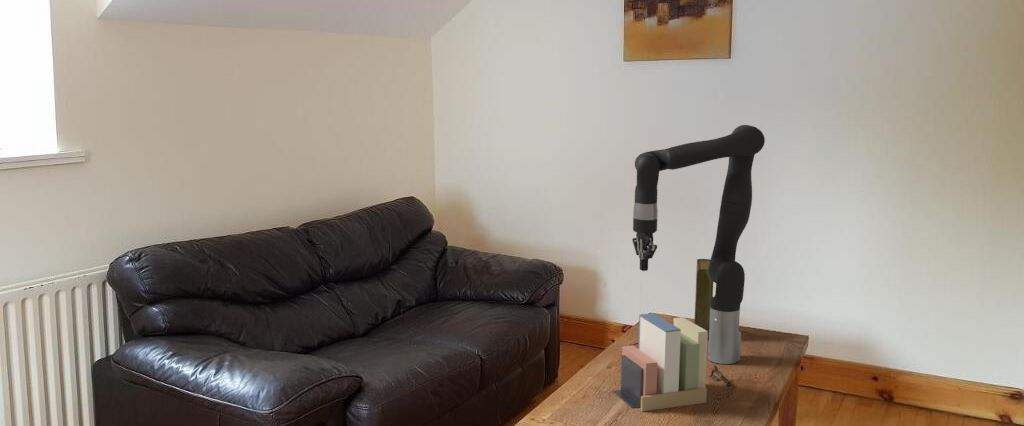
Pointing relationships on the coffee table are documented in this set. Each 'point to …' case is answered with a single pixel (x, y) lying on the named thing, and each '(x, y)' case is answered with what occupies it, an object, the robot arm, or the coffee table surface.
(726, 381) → the brown irregular piece
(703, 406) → the coffee table surface
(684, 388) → the book rack
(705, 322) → the book
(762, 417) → the coffee table surface
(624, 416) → the coffee table surface
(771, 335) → the coffee table surface
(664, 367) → the blue book
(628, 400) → the bookend
